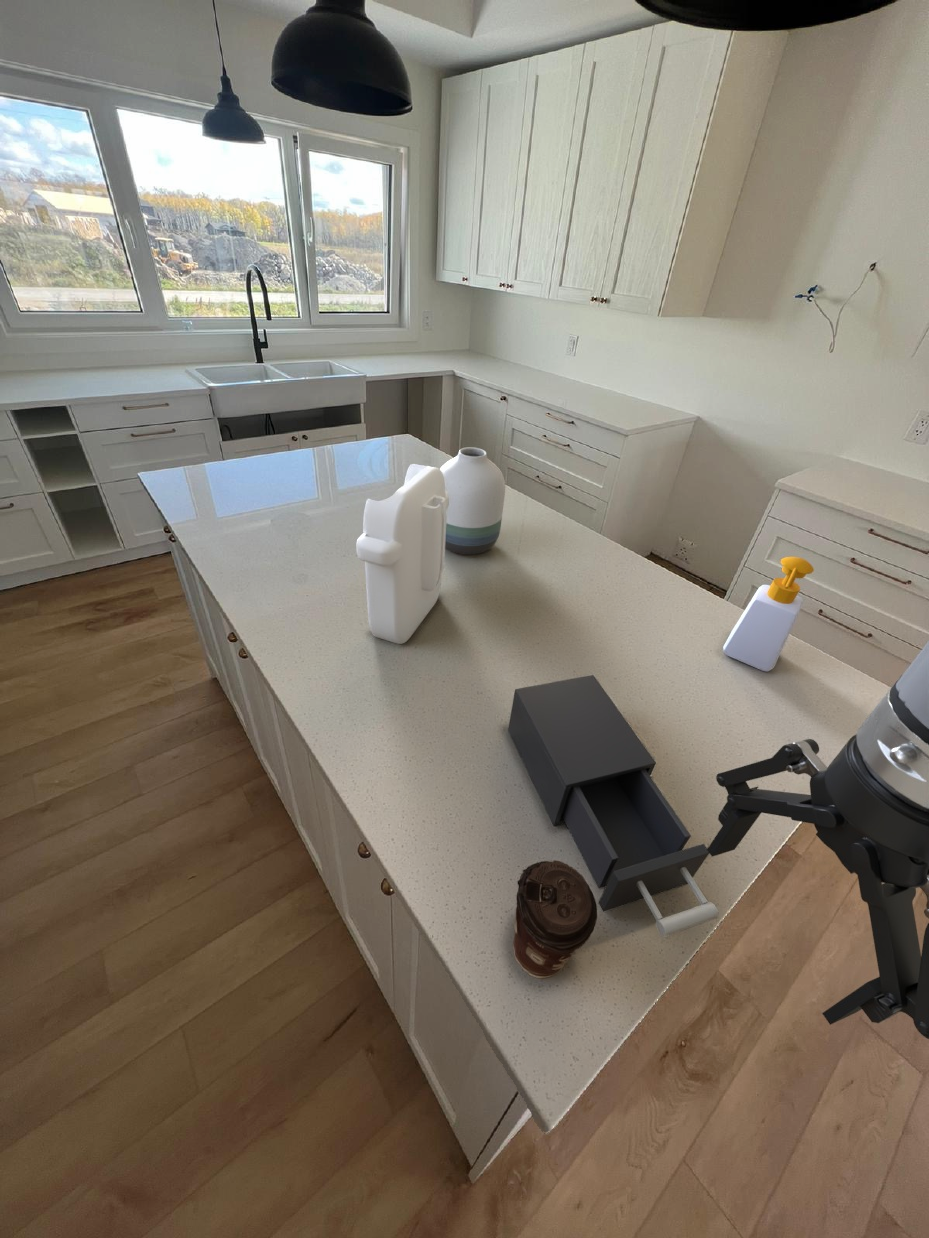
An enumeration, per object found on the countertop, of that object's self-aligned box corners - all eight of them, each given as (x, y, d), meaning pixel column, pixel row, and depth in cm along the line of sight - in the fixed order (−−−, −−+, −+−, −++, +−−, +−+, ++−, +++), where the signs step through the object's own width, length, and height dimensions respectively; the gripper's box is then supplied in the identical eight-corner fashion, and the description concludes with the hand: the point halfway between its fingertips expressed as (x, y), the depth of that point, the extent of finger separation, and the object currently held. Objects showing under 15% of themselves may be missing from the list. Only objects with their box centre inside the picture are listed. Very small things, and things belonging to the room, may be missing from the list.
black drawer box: (637, 803, 75) (656, 762, 70) (553, 826, 72) (566, 785, 66) (581, 714, 88) (593, 674, 83) (507, 730, 85) (515, 688, 79)
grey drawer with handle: (718, 931, 61) (744, 902, 56) (628, 965, 58) (648, 936, 53) (620, 776, 78) (634, 743, 73) (545, 795, 74) (555, 762, 70)
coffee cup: (486, 940, 60) (498, 887, 52) (533, 892, 64) (551, 836, 56) (543, 1008, 55) (566, 961, 47) (590, 951, 59) (618, 899, 52)
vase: (505, 559, 128) (518, 466, 113) (437, 562, 125) (441, 466, 110) (490, 527, 141) (499, 439, 126) (428, 529, 138) (431, 439, 123)
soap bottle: (713, 665, 101) (760, 569, 87) (731, 632, 110) (776, 540, 97) (764, 688, 97) (822, 591, 83) (779, 652, 106) (833, 558, 92)
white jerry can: (409, 665, 95) (410, 518, 77) (356, 648, 98) (344, 502, 80) (461, 589, 116) (471, 459, 98) (416, 577, 119) (417, 448, 100)
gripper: (732, 652, 40) (654, 807, 53) (1140, 1031, 22) (868, 1130, 34) (805, 638, 42) (713, 791, 55) (1236, 974, 24) (946, 1087, 37)
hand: (772, 922), depth 45 cm, fingers open, 13 cm apart
